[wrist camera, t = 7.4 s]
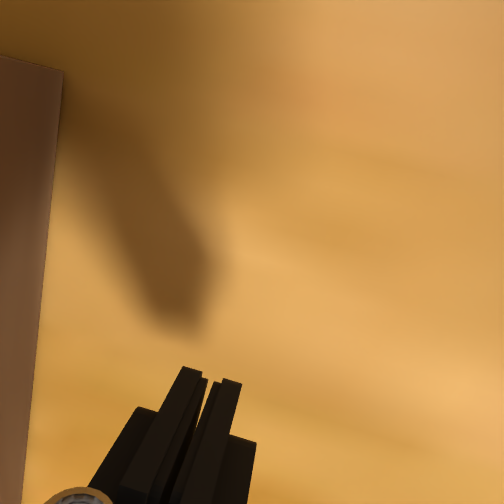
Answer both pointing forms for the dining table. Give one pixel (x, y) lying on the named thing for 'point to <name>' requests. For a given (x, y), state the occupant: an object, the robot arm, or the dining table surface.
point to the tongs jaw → (22, 246)
